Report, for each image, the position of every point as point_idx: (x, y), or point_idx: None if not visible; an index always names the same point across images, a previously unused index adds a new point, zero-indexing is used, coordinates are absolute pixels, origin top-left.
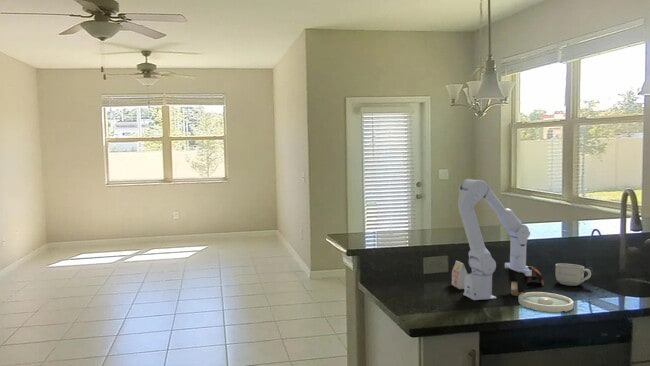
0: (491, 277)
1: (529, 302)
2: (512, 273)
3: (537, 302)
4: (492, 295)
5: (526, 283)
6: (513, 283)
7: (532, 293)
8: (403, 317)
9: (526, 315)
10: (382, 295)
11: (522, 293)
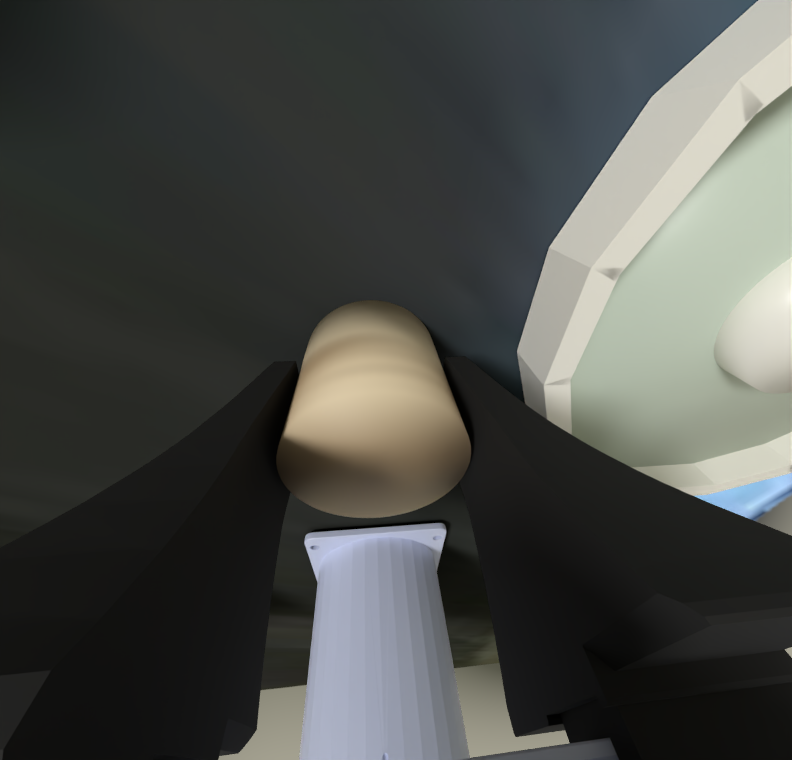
0: (451, 729)
1: (731, 487)
2: (232, 661)
3: (728, 386)
4: (400, 534)
5: (554, 431)
6: (401, 513)
7: (591, 318)
8: (491, 662)
9: (733, 504)
10: (301, 681)
11: (435, 349)
